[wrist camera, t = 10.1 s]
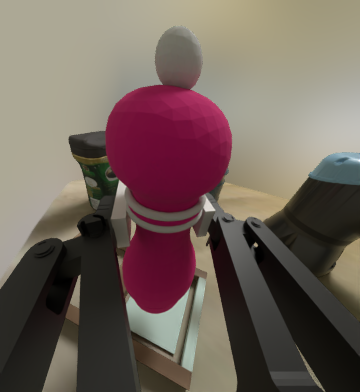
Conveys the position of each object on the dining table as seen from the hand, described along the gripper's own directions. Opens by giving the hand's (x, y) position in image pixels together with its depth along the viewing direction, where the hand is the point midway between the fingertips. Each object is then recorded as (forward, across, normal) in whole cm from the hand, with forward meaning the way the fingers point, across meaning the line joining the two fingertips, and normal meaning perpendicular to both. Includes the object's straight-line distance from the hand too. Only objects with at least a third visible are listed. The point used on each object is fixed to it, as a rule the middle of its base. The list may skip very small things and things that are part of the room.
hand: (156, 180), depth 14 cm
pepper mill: (-5, 0, -11) cm, 12 cm away
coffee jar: (+21, -10, -19) cm, 30 cm away
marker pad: (-5, 0, -19) cm, 20 cm away
